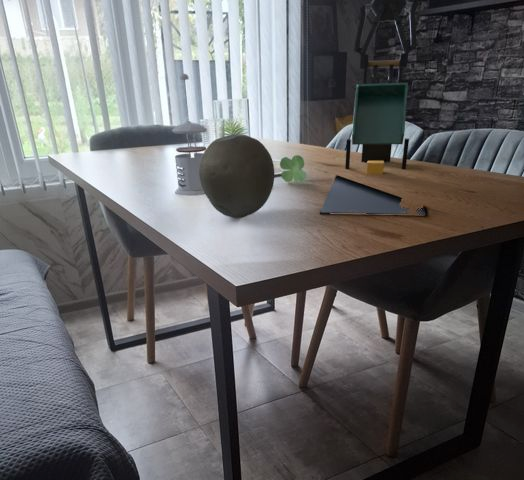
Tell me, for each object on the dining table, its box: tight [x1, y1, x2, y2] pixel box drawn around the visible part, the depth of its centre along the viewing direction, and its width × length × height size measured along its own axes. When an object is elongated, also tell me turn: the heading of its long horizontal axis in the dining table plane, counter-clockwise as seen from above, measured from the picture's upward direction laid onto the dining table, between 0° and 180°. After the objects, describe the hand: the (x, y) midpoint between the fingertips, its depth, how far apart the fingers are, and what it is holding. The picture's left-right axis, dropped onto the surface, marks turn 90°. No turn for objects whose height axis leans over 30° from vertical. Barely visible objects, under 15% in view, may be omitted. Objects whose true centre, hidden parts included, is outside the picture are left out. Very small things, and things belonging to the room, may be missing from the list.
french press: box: [171, 73, 208, 196], centre depth 113 cm, size 10×12×25 cm
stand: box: [344, 137, 410, 170], centre depth 132 cm, size 14×16×9 cm
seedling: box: [279, 154, 308, 183], centre depth 127 cm, size 7×8×7 cm
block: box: [366, 161, 385, 175], centre depth 122 cm, size 4×4×4 cm
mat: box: [319, 174, 427, 216], centre depth 110 cm, size 40×20×1 cm, turn 168°
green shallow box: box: [351, 59, 409, 145], centre depth 125 cm, size 22×13×5 cm
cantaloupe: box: [199, 133, 275, 219], centre depth 90 cm, size 14×14×15 cm
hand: (382, 83), depth 127 cm, fingers closed on green shallow box, 8 cm apart
